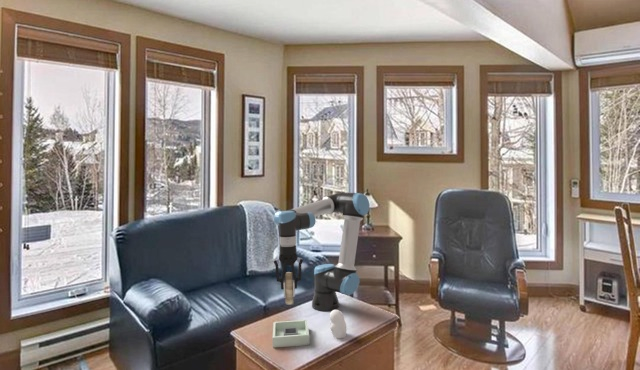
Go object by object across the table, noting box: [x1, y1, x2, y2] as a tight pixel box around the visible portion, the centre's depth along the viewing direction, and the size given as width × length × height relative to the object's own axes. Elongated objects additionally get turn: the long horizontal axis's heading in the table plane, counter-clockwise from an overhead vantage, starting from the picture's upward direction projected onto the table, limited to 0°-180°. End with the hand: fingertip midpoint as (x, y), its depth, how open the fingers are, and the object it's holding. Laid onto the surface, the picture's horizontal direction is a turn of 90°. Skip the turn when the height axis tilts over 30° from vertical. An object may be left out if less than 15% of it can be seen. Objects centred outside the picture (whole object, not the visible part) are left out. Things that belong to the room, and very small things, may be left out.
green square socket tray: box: [272, 319, 310, 349], centre depth 168 cm, size 16×16×4 cm
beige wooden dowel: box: [284, 271, 294, 306], centre depth 167 cm, size 4×4×14 cm
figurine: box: [329, 309, 347, 339], centre depth 169 cm, size 7×8×12 cm
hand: (289, 295), depth 167 cm, fingers closed on beige wooden dowel, 3 cm apart
